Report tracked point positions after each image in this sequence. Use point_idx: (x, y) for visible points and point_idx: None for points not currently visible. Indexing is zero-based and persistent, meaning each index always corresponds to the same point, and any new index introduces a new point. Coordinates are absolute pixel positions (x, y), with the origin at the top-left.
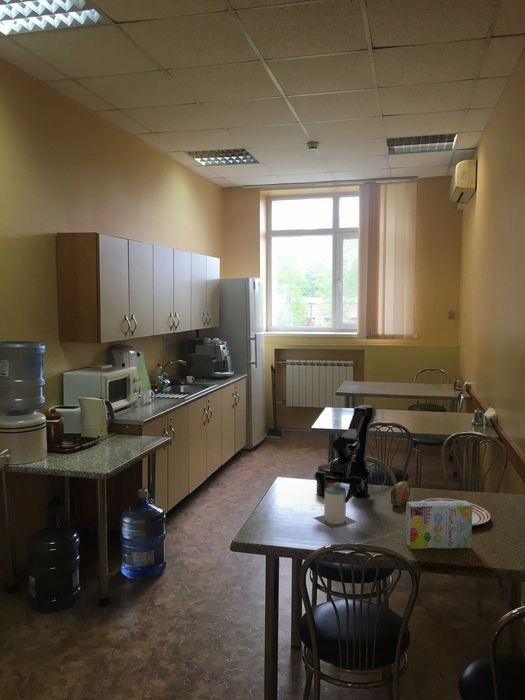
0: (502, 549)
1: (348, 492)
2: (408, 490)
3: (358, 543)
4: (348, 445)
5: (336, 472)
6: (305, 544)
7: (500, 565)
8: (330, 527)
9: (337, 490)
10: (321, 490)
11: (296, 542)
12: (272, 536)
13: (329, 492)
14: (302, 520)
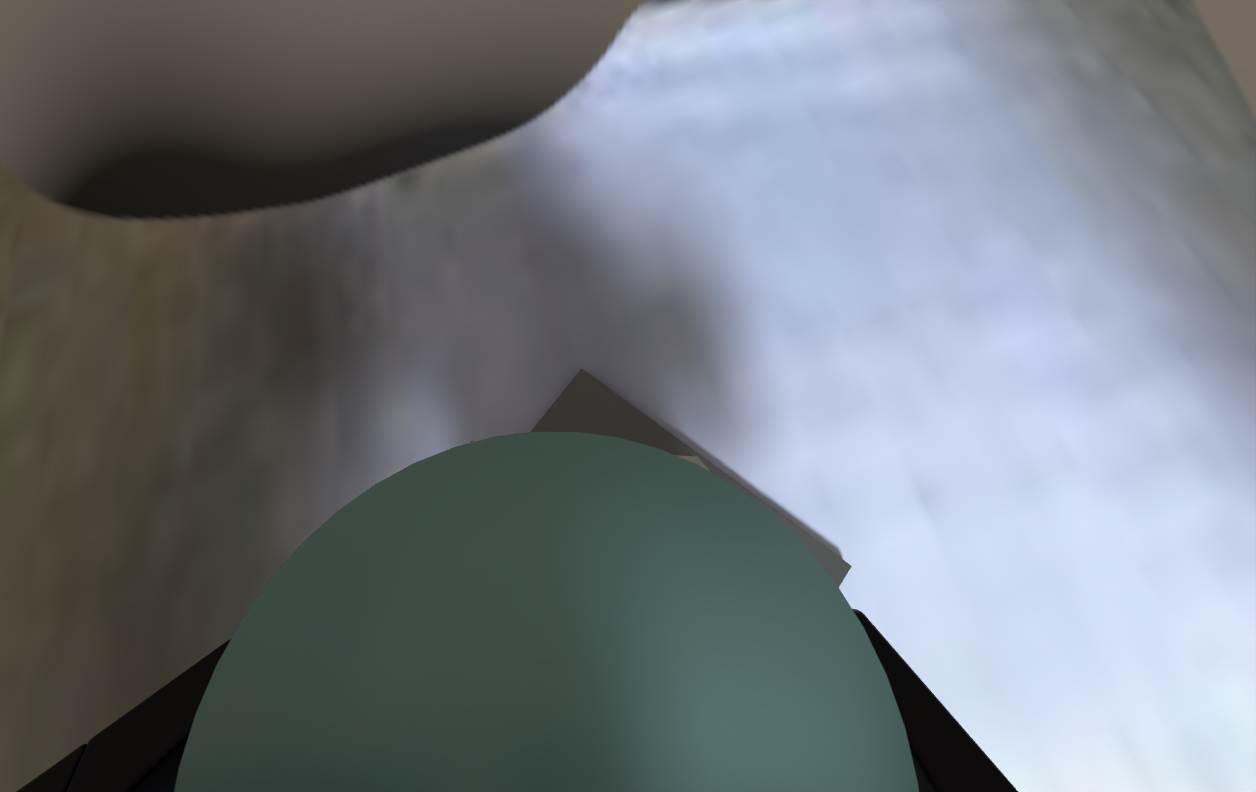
0: None
1: (114, 778)
2: None
3: (332, 201)
4: None
5: None
6: (703, 53)
7: None
8: (605, 386)
9: (444, 694)
10: (1011, 784)
11: (775, 58)
12: (986, 81)
13: (665, 451)
14: (928, 487)
